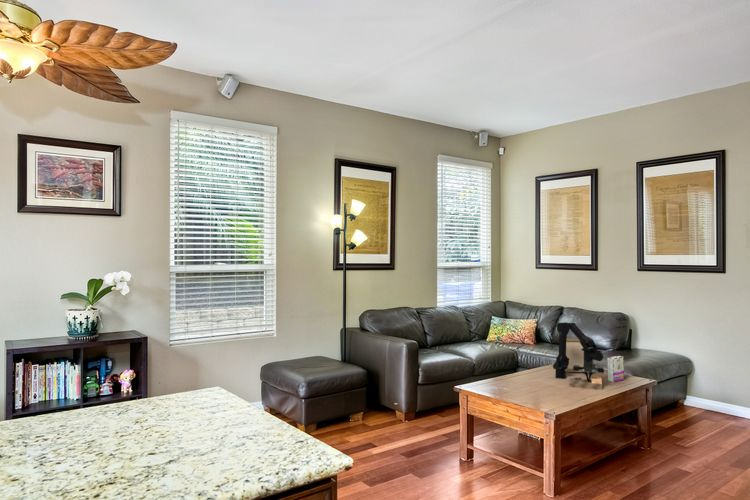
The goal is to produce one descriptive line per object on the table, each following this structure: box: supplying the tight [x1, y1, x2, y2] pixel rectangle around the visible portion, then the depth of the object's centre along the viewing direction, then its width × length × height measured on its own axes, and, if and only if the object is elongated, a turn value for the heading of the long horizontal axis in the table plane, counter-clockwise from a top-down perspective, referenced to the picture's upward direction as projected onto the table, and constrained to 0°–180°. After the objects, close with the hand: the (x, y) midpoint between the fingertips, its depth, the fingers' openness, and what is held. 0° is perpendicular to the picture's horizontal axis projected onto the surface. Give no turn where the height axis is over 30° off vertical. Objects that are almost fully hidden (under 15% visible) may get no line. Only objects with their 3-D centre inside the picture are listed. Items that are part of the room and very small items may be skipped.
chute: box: [568, 376, 603, 390], centre depth 334 cm, size 20×10×4 cm, turn 66°
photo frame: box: [565, 337, 595, 374], centre depth 379 cm, size 15×22×25 cm
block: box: [591, 376, 603, 384], centre depth 331 cm, size 6×6×5 cm
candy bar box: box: [606, 355, 625, 383], centre depth 349 cm, size 11×5×16 cm, turn 117°
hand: (588, 381), depth 333 cm, fingers closed
